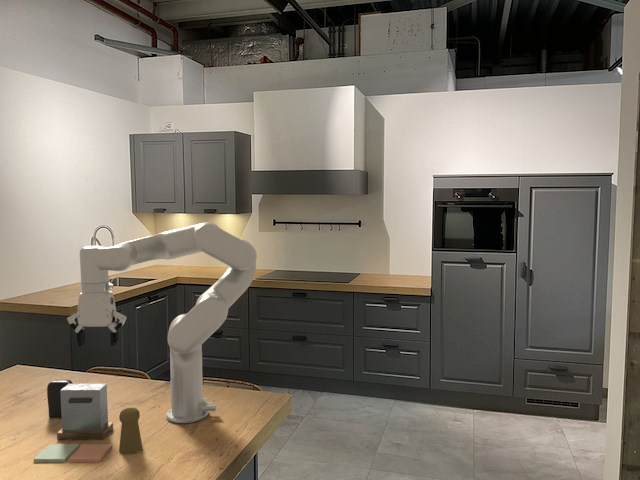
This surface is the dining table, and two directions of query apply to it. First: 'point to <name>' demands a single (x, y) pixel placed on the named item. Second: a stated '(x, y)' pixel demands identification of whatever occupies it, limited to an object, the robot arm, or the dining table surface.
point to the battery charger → (55, 397)
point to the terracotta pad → (90, 453)
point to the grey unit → (84, 412)
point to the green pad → (56, 453)
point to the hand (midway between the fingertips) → (98, 344)
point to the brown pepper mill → (130, 431)
